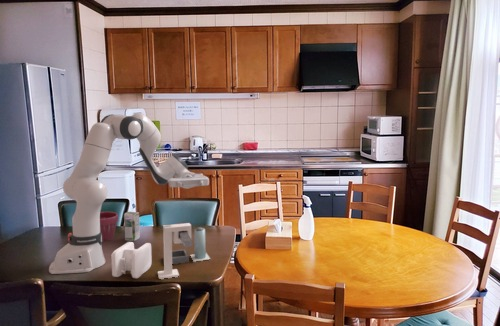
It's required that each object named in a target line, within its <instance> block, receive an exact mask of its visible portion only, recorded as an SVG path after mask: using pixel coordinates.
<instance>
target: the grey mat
mask: <svg viewBox="0 0 500 326" xmlns="http://www.w3.org/2000/svg"><path fill="white" fill-rule="evenodd" d="M190 256H191V257H190ZM189 257H190V259H191V258H192V259H191V260H193V261H192V262H193V263H197V262H196V261H201V262H204V261H203V260H209V259H211V257H210V255H209V254H208V253H207V252H206V257H205V258H203V259H197V258H195V253H194V254H193V253H192V254H190V255H189ZM209 261H210V260H209Z"/></svg>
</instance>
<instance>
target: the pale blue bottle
mask: <svg viewBox="0 0 500 326" xmlns="http://www.w3.org/2000/svg"><path fill="white" fill-rule="evenodd" d="M193 231H194V232H193V233H194V241H193V242H194V254H195V258H197V259H203V258H205V257H206V253H207V251H206V228H204V227H201V226H199V227H196V228H194V230H193Z"/></svg>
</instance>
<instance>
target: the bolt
mask: <svg viewBox="0 0 500 326" xmlns="http://www.w3.org/2000/svg"><path fill="white" fill-rule="evenodd" d="M178 224H184V222H180V223H178ZM178 236H179V238H180V240H181V242H182V243H181V244H182V245H183V248H190V247H193V239H192V240H191V238H190V236H189V235H188V233H187V231H178Z"/></svg>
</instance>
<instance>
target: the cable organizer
mask: <svg viewBox="0 0 500 326" xmlns="http://www.w3.org/2000/svg"><path fill="white" fill-rule="evenodd" d="M134 243H135V242H134V241H127V242H126V243H124V244H123V245H121V246H120V247H118V248H116V249H115V250H114V251H112V253H111V255H110V257H111V275H112V277H114V278H119V277H121V276H122V275H123V274H124V275H126V272H127V271H130V275H131V277H132V278H133V279H139V278H140V277H141V276H142V275H143V274H144V273H147V271H148V270H149V269H150V268H151V266H152V263H153V261H152V259H153V258H152V244H151V243H150V242H145V243H144V244H143V245H141V246H140V247H138V248H135V244H134Z"/></svg>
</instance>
